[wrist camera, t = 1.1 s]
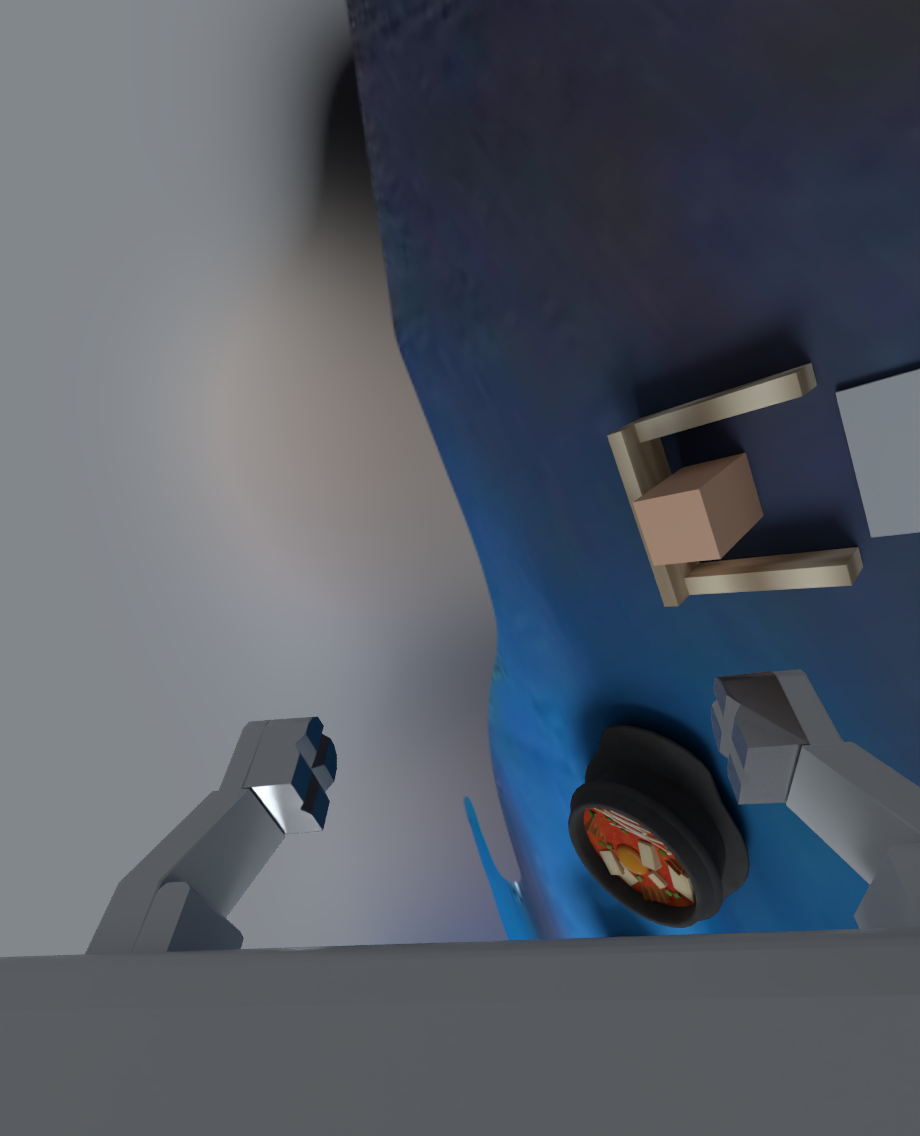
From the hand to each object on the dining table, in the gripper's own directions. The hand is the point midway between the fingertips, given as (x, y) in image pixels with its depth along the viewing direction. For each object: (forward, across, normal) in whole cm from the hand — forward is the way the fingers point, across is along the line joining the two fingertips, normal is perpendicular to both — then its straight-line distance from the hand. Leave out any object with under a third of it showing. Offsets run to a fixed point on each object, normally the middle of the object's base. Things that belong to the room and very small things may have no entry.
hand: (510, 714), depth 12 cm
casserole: (+27, -10, +55) cm, 62 cm away
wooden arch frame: (+31, -17, +16) cm, 39 cm away
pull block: (+32, -15, +17) cm, 40 cm away
